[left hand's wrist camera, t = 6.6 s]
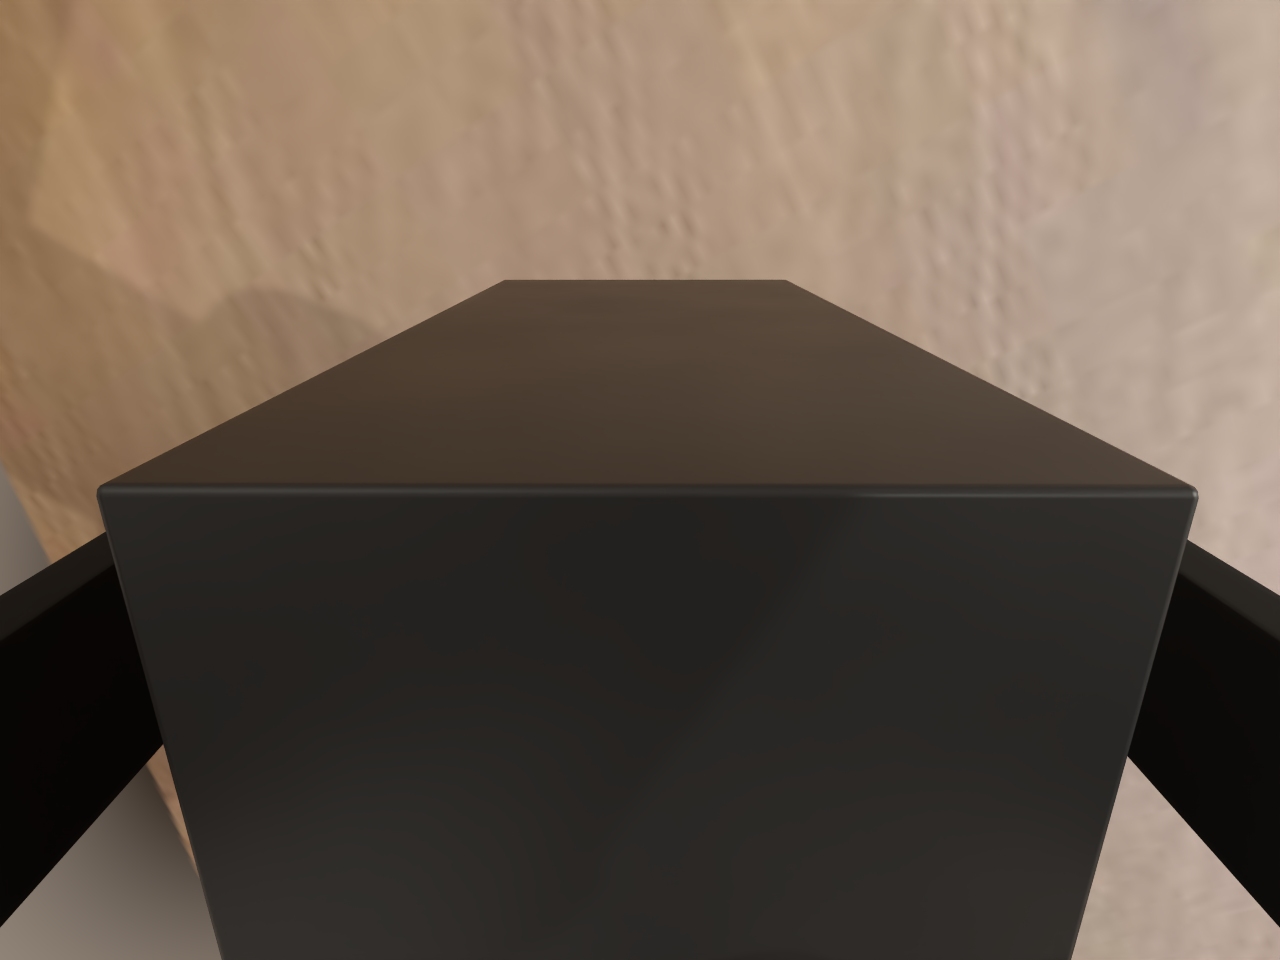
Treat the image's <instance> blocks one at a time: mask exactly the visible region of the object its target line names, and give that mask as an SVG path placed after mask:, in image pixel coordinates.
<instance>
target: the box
mask: <svg viewBox="0 0 1280 960" xmlns="http://www.w3.org/2000/svg"><path fill="white" fill-rule="evenodd" d="M97 500H98V504H99V508H100V511H101V515H102V519H103V522H104V526H105V530H106V534H107V537H108V541H109V545H110V548H111V552H112V556H113V559H114V563H115V567H116V570H117V574H118V578H119V582H120V585H121V589H122V593H123V596H124V600H125V604H126V607H127V611H128V615H129V618H130V622H131V626H132V630H133V633H134V637H135V641H136V644H137V648H138V652H139V655H140V659H141V663H142V666H143V670H144V674H145V678H146V681H147V685H148V689H149V692H150V696H151V700H152V703H153V707H154V711H155V714H156V718H157V722H158V726H159V729H160V733H161V737H162V740H163V744H164V748H165V751H166V755H167V759H168V762H169V766H170V770H171V774H172V777H173V781H174V785H175V788H176V792H177V796H178V799H179V803H180V807H181V811H182V814H183V818H184V822H185V825H186V829H187V833H188V836H189V840H190V844H191V847H192V851H193V855H194V859H195V862H196V866H197V870H198V873H199V877H200V881H201V884H202V888H203V892H204V895H205V899H206V903H207V907H208V910H209V914H210V918H211V921H212V925H213V929H214V932H215V936H216V940H217V943H218V947H219V951H220V955H221V958H222V960H1071V958H1072V954H1073V950H1074V947H1075V943H1076V940H1077V936H1078V932H1079V929H1080V925H1081V921H1082V918H1083V914H1084V911H1085V907H1086V903H1087V900H1088V896H1089V893H1090V889H1091V885H1092V882H1093V878H1094V874H1095V871H1096V867H1097V864H1098V860H1099V856H1100V853H1101V849H1102V846H1103V842H1104V838H1105V835H1106V831H1107V827H1108V824H1109V820H1110V817H1111V813H1112V809H1113V806H1114V802H1115V799H1116V795H1117V791H1118V788H1119V784H1120V780H1121V777H1122V773H1123V770H1124V766H1125V762H1126V759H1127V755H1128V752H1129V748H1130V744H1131V741H1132V737H1133V733H1134V730H1135V726H1136V723H1137V719H1138V715H1139V712H1140V708H1141V704H1142V701H1143V697H1144V694H1145V690H1146V686H1147V683H1148V679H1149V676H1150V672H1151V668H1152V665H1153V661H1154V657H1155V654H1156V650H1157V647H1158V643H1159V639H1160V636H1161V632H1162V629H1163V625H1164V621H1165V618H1166V614H1167V610H1168V607H1169V603H1170V600H1171V596H1172V592H1173V589H1174V585H1175V582H1176V578H1177V574H1178V571H1179V567H1180V563H1181V560H1182V556H1183V553H1184V549H1185V545H1186V542H1187V538H1188V535H1189V531H1190V527H1191V524H1192V520H1193V516H1194V513H1195V509H1196V506H1197V502H1198V491H1197V490H1196V488H1195V487H1193V486H1191V485H1189V484H1187V483H1185V482H1183V481H1181V480H1179V479H1177V478H1176V477H1174V476H1172V475H1170V474H1168V473H1166V472H1164V471H1162V470H1160V469H1158V468H1156V467H1154V466H1152V465H1150V464H1148V463H1146V462H1144V461H1142V460H1140V459H1138V458H1136V457H1134V456H1132V455H1130V454H1128V453H1126V452H1124V451H1122V450H1120V449H1118V448H1116V447H1114V446H1112V445H1110V444H1108V443H1106V442H1105V441H1103V440H1101V439H1099V438H1097V437H1095V436H1093V435H1091V434H1089V433H1087V432H1085V431H1083V430H1081V429H1079V428H1077V427H1075V426H1073V425H1071V424H1069V423H1067V422H1065V421H1063V420H1061V419H1059V418H1057V417H1055V416H1053V415H1051V414H1049V413H1047V412H1045V411H1043V410H1041V409H1039V408H1037V407H1035V406H1033V405H1032V404H1030V403H1028V402H1026V401H1024V400H1022V399H1020V398H1018V397H1016V396H1014V395H1012V394H1010V393H1008V392H1006V391H1004V390H1002V389H1000V388H998V387H996V386H994V385H992V384H990V383H988V382H986V381H984V380H982V379H980V378H978V377H976V376H974V375H972V374H970V373H968V372H966V371H964V370H962V369H960V368H959V367H957V366H955V365H953V364H951V363H949V362H947V361H945V360H943V359H941V358H939V357H937V356H935V355H933V354H931V353H929V352H927V351H925V350H923V349H921V348H919V347H917V346H915V345H913V344H911V343H909V342H907V341H905V340H903V339H901V338H899V337H897V336H895V335H893V334H891V333H889V332H887V331H886V330H884V329H882V328H880V327H878V326H876V325H874V324H872V323H870V322H868V321H866V320H864V319H862V318H860V317H858V316H856V315H854V314H852V313H850V312H848V311H846V310H844V309H842V308H840V307H838V306H836V305H834V304H832V303H830V302H828V301H826V300H824V299H822V298H820V297H818V296H816V295H815V294H813V293H811V292H809V291H807V290H805V289H803V288H801V287H799V286H797V285H795V284H793V283H791V282H789V281H787V280H504V281H502V282H500V283H498V284H496V285H494V286H492V287H490V288H488V289H486V290H484V291H482V292H480V293H478V294H476V295H474V296H472V297H470V298H468V299H466V300H464V301H463V302H461V303H459V304H457V305H455V306H453V307H451V308H449V309H447V310H445V311H443V312H441V313H439V314H437V315H435V316H433V317H431V318H429V319H427V320H425V321H423V322H421V323H419V324H417V325H415V326H413V327H411V328H409V329H407V330H405V331H404V332H402V333H400V334H398V335H396V336H394V337H392V338H390V339H388V340H386V341H384V342H382V343H380V344H378V345H376V346H374V347H372V348H370V349H368V350H366V351H364V352H362V353H360V354H358V355H356V356H354V357H352V358H350V359H348V360H346V361H344V362H343V363H341V364H339V365H337V366H335V367H333V368H331V369H329V370H327V371H325V372H323V373H321V374H319V375H317V376H315V377H313V378H311V379H309V380H307V381H305V382H303V383H301V384H299V385H297V386H295V387H293V388H291V389H289V390H287V391H285V392H283V393H282V394H280V395H278V396H276V397H274V398H272V399H270V400H268V401H266V402H264V403H262V404H260V405H258V406H256V407H254V408H252V409H250V410H248V411H246V412H244V413H242V414H240V415H238V416H236V417H234V418H232V419H230V420H228V421H226V422H224V423H223V424H221V425H219V426H217V427H215V428H213V429H211V430H209V431H207V432H205V433H203V434H201V435H199V436H197V437H195V438H193V439H191V440H189V441H187V442H185V443H183V444H181V445H179V446H177V447H175V448H173V449H171V450H169V451H167V452H165V453H163V454H162V455H160V456H158V457H156V458H154V459H152V460H150V461H148V462H146V463H144V464H142V465H140V466H138V467H136V468H134V469H132V470H130V471H128V472H126V473H124V474H122V475H120V476H118V477H116V478H114V479H112V480H110V481H108V482H106V483H104V484H102V485H101V486H100V487H99V488H98V489H97Z"/></svg>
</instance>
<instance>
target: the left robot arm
mask: <svg viewBox="0 0 1280 960" xmlns="http://www.w3.org/2000/svg"><path fill="white" fill-rule="evenodd" d="M162 745H163V740H162V737H161V733H160V729H159V726H158V722H157V718H156V714H155V711H154V707H153V703H152V700H151V696H150V692H149V689H148V685H147V681H146V678H145V674H144V670H143V666H142V663H141V659H140V655H139V652H138V648H137V644H136V641H135V637H134V633H133V630H132V626H131V622H130V618H129V615H128V611H127V607H126V604H125V600H124V596H123V593H122V589H121V585H120V582H119V578H118V574H117V570H116V567H115V563H114V559H113V556H112V552H111V548H110V545H109V541H108V537H107V534H106V532H104V533H103V534H101V535H99V536H98V537H96V538H95V539H93V540H91V541H90V542H88V543H86V544H85V545H83V546H81V547H80V548H78V549H76V550H75V551H73V552H71V553H70V554H68V555H67V556H65V557H63V558H62V559H60V560H58V561H57V562H55V563H53V564H52V565H50V566H48V567H47V568H45V569H44V570H42V571H40V572H39V573H37V574H35V575H34V576H32V577H30V578H29V579H27V580H25V581H24V582H22V583H20V584H19V585H17V586H15V587H14V588H12V589H11V590H9V591H7V592H6V593H4V594H2V595H1V596H0V927H1V926H2V925H3V924H4V923H5V921H6V920H7V919H8V918H9V917H10V916H11V915H12V914H13V912H14V911H15V910H16V909H17V908H18V907H19V906H20V905H21V904H22V902H23V901H24V900H25V899H26V898H27V897H28V896H29V895H30V893H31V892H32V891H33V890H34V889H35V888H36V887H37V885H38V884H39V883H40V882H41V881H42V880H43V879H44V878H45V876H46V875H47V874H48V873H49V872H50V871H51V870H52V869H53V867H54V866H55V865H56V864H57V863H58V862H59V861H60V860H61V858H62V857H63V856H64V855H65V854H66V853H67V852H68V851H69V849H70V848H71V847H72V846H73V845H74V844H75V843H76V842H77V840H78V839H79V838H80V837H81V836H82V835H83V834H84V833H85V831H86V830H87V829H88V828H89V827H90V826H91V825H92V824H93V822H94V821H95V820H96V819H97V818H98V817H99V816H100V815H101V813H102V812H103V811H104V810H105V809H106V808H107V807H108V806H109V804H110V803H111V802H112V801H113V800H114V799H115V798H116V797H117V795H118V794H119V793H120V792H121V791H122V790H123V789H124V788H125V786H126V785H127V784H128V783H129V782H130V781H131V780H132V779H133V777H134V776H135V775H136V774H137V773H138V772H139V771H140V769H141V768H142V767H143V766H144V765H145V764H146V763H147V762H148V761H149V759H150V758H151V757H152V756H153V755H154V754H155V753H156V752H157V750H158V749H159V748H160V747H161V746H162ZM1127 756H1128V757H1129V758H1130V759H1131V761H1132V762H1133V763H1134V764H1135V765H1136V766H1137V767H1138V768H1139V770H1140V771H1141V772H1142V773H1143V774H1144V775H1145V776H1146V777H1147V779H1148V780H1149V781H1150V782H1151V783H1152V784H1153V785H1154V786H1155V788H1156V789H1157V790H1158V791H1159V792H1160V793H1161V794H1162V795H1163V797H1164V798H1165V799H1166V800H1167V801H1168V802H1169V803H1170V804H1171V806H1172V807H1173V808H1174V809H1175V810H1176V811H1177V812H1178V813H1179V815H1180V816H1181V817H1182V818H1183V819H1184V820H1185V821H1186V822H1187V824H1188V825H1189V826H1190V827H1191V828H1192V829H1193V830H1194V831H1195V833H1196V834H1197V835H1198V836H1199V837H1200V838H1201V839H1202V840H1203V842H1204V843H1205V844H1206V845H1207V846H1208V847H1209V848H1210V849H1211V851H1212V852H1213V853H1214V854H1215V855H1216V856H1217V857H1218V858H1219V860H1220V861H1221V862H1222V863H1223V864H1224V865H1225V866H1226V867H1227V869H1228V870H1229V871H1230V872H1231V873H1232V874H1233V875H1234V876H1235V878H1236V879H1237V880H1238V881H1239V882H1240V883H1241V884H1242V885H1243V887H1244V888H1245V889H1246V890H1247V891H1248V892H1249V893H1250V895H1251V896H1252V897H1253V898H1254V899H1255V900H1256V901H1257V902H1258V904H1259V905H1260V906H1261V907H1262V908H1263V909H1264V910H1265V911H1266V913H1267V914H1268V915H1269V916H1270V917H1271V918H1272V919H1273V920H1274V922H1275V923H1276V924H1277V925H1278V926H1279V927H1280V596H1279V595H1278V594H1276V593H1274V592H1273V591H1271V590H1269V589H1268V588H1266V587H1265V586H1263V585H1261V584H1260V583H1258V582H1256V581H1255V580H1253V579H1251V578H1250V577H1248V576H1246V575H1245V574H1243V573H1241V572H1240V571H1238V570H1237V569H1235V568H1233V567H1232V566H1230V565H1228V564H1227V563H1225V562H1223V561H1222V560H1220V559H1218V558H1217V557H1215V556H1213V555H1212V554H1210V553H1209V552H1207V551H1205V550H1204V549H1202V548H1200V547H1199V546H1197V545H1195V544H1194V543H1192V542H1190V541H1189V540H1187V542H1186V545H1185V549H1184V553H1183V556H1182V560H1181V563H1180V567H1179V571H1178V574H1177V578H1176V582H1175V585H1174V589H1173V592H1172V596H1171V600H1170V603H1169V607H1168V610H1167V614H1166V618H1165V621H1164V625H1163V629H1162V632H1161V636H1160V639H1159V643H1158V647H1157V650H1156V654H1155V657H1154V661H1153V665H1152V668H1151V672H1150V676H1149V679H1148V683H1147V686H1146V690H1145V694H1144V697H1143V701H1142V704H1141V708H1140V712H1139V715H1138V719H1137V723H1136V726H1135V730H1134V733H1133V737H1132V741H1131V744H1130V748H1129V752H1128V755H1127Z"/></svg>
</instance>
